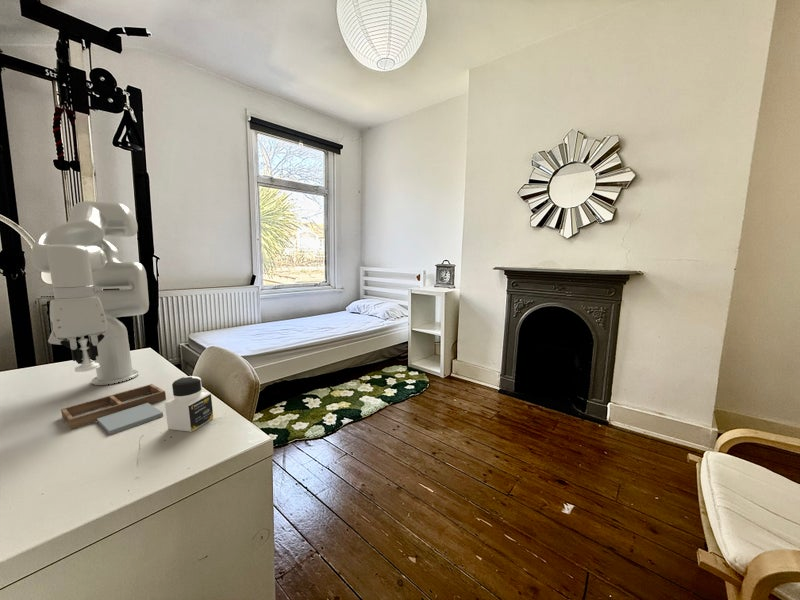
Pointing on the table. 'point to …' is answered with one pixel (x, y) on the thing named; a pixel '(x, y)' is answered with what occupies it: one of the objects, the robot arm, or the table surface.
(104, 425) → the pad
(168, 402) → the medicine bottle
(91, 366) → the chess piece
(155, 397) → the bay frame
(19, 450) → the table surface
